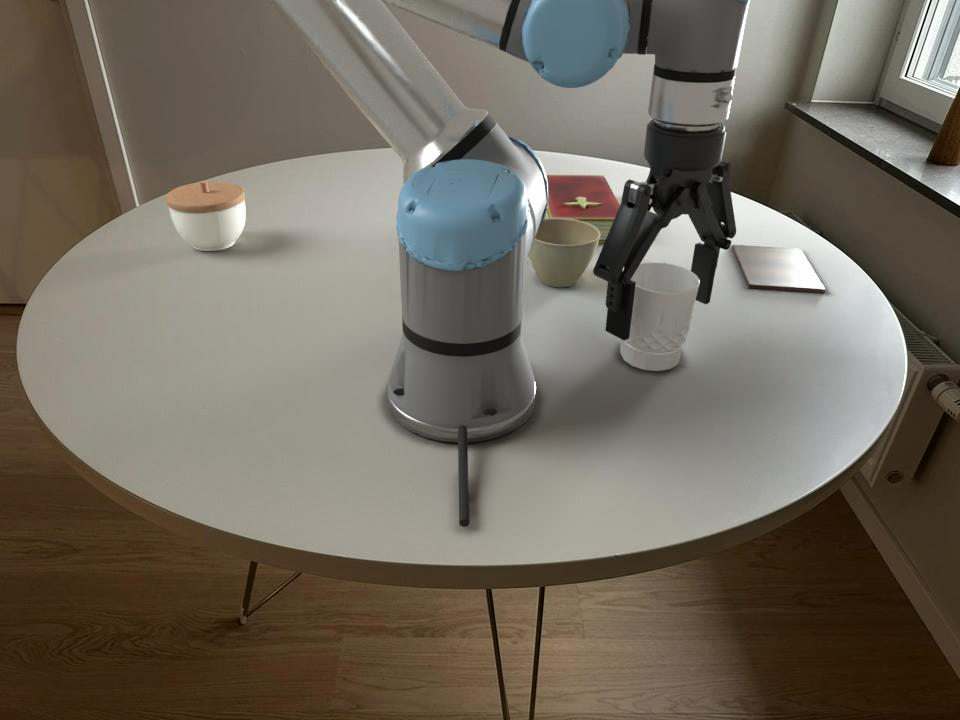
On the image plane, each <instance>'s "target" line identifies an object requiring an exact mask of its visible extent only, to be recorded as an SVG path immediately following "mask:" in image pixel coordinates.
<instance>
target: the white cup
mask: <svg viewBox="0 0 960 720" xmlns="http://www.w3.org/2000/svg"><path fill="white" fill-rule="evenodd" d="M631 280H632V281H634V282H636V286H635V294H634V302H633V310H632V318H631V327H630V335H629V339H627V340H625V341H624V340H622V339H620V348H619V349H620V350H619V353H620V355H621V358H622V360H623V361H624V362H625V363H627V364H629V365H630V366H632V367H634V368H636V369H640V370H643V371H651V372H663V371H667V370H672V369H673V368H674V367H677V366H678V365H679V363H680V360H681V356H682V351H683V347H684V344H685V342H686V340H687V335H688V332H689V330H690V325H691V321H692V316H693V312H694V308H695V304H696V296H697V292H698V288H699V284H700V280H699V278H698V277H697V275H696V274H694V273H693V272H692V271H691V269H690V270H689V268H686V267H684V266H680V265H677V264H673V263H667V262H653V261H652V262H641V263H640V265H639V267H638V268H637V270H636V271H635V273H634V275H633V276H632V278H631Z"/></svg>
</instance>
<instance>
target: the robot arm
mask: <svg viewBox="0 0 960 720" xmlns="http://www.w3.org/2000/svg"><path fill="white" fill-rule="evenodd" d="M267 1H268V2H269V3H270V4H271V6H272V7H273V8H274V9H275V11H276V12H277V13H278V14H279V16H281V18H282V19H283V20H284V21H285V23H286V24H287V25H288V26H289V27H290V29H291V30H292V31H293V32H294V33H295V35H297V37H298V38H299V39H300V40H301V41H302V43H303V44H304V45H305V46H306V48H307V49H308V50H309V51H310V52H311V53H312V55H313V56H314V57H315V59H316V60H317V61H318V62H319V63H320V64H321V65H322V66H323V68H324V69H325V70H326V71H327V72H328V73H329V75H330V76H331V77H332V79H333V80H334V81H335V82H336V83H337V85H339V87H340V88H341V89H342V90H343V91H344V93H345V94H346V95H347V96H348V98H350V100H351V101H352V103H353V104H354V105H355V106H356V107H357V108H358V109H359V110H360V112H361V113H362V114H363V115H364V117H365V118H366V119H367V120H368V121H369V123H370V124H371V125H372V126H373V127H374V128H375V129H376V131H377V132H378V133H379V134H380V136H381V137H382V138H383V139H384V140H385V142H386V143H387V145H389V146H390V147H391V149H392V150H393V151H394V152H395V153H396V155H397V156H398V157H399V158H400V159H401V161H402V164H403V172H402V186H401V189H400V191H399V195H398V200H397V204H398V205H397V212H396V217H395V218H396V225H395V228H396V229H395V230H396V232H397V233H396V234H397V236H398V254H399V255H398V257H399V277H400V299H401V324H402V325H401V327H402V336H401V338H400V341H399V345H398V348H397V351H396V354H395V356H394V360H393V363H392V366H391V369H390V371H389V372H390V373H389V375H388V379H387V383H386V397H387V406H388V410H389V412H390V414H391V416H392V417H393V418H394V420H395V421H396V422H398V424H400V425H401V426H402V427H403V428H405V429H407V430H408V431H409V432H412V433H413V434H416V435H418V436H420V437H424V438H427V439H431V440H434V441H439V442H447V443H457V459H458V470H457V471H458V524H459V526H460V527H462V528H467V527H468V526H470V521H471V519H470V493H469V492H470V488H469V453H468V452H469V451H468V448H469V447H468V443H477V442H483V441H489V440H493V439H497V438H499V437H503V436H506V435H507V434H509V433H511V432H513V431H515V430H516V429H518V428H520V427H521V426H523V425H524V423H525V422H527V421H528V420H529V418H530V417H531V415H533V411H534V409H535V406H536V393H537V392H536V391H537V386H536V381H535V377H534V373H533V370H532V366H531V364H530V361H529V357H528V354H527V351H526V347H525V344H524V341H523V338H522V320H523V319H522V318H523V303H524V301H523V300H524V282H525V281H524V280H525V271H526V265H527V260H528V258H529V252H530V249H531V247H532V244H533V242H534V239H535V236H536V233H537V231H538V229H539V227H540V226H541V224H542V222H543V220H544V217H545V214H546V211H547V204H548V181H547V176H546V175H547V173H546V170H545V167H544V165H543V162H542V161H541V159H540V157H539V156H538V154H536V152H535V151H534V150H533V149H532V148H531V147H530V146H529V145H528V144H526V143H525V142H524V141H522V140H520V139H518V138H516V137H515V136H511V135H507V134H506V132H505V131H504V130H503V128H501V126H500V125H499V124H498V122H497V121H496V120H495V118H494V117H493V116H492V115H491V113H490V112H489V111H488V110H487V109H482V108H474V107H473V108H472V107H468V106H466V105H464V103H463V102H462V101H461V99H460V98H459V97H458V95H457V94H456V93H455V91H454V90H453V89H452V88H451V86H450V85H449V84H448V83H447V81H446V80H445V79H444V77H443V76H442V75H441V74H440V72H439V71H438V70H437V69H436V67H434V66H433V63H432V62H431V61H430V60H429V59H428V58H427V56H426V55H425V53H424V52H423V51H422V50H421V49H420V47H419V46H418V45H417V43H416V42H415V40H414V39H413V38H412V37H411V36H410V35H409V34H408V32H407V30H405V28H404V27H403V26H402V25H401V23H400V22H399V21H398V19H397V18H396V17H395V16H394V14H393V13H392V12H391V11H390V9H389V8H388V7H387V6H386V4H388V5H391V6H393V7H395V8H398V9H400V10H402V11H405V12H407V13H409V14H412V15H415V16H417V17H419V18H421V19H424V20H427V21H428V22H429V21H430V22H432V23H434V24H436V25H439V26H442V27H444V28H446V29H449V30H451V31H454V32H456V33H459V34H461V35H463V36H465V37H468V38H471V39H473V40H475V41H478V42H480V43H482V44H485V45H488V46H490V47H493V48H495V49H497V50H499V51H501V52H505V53H506V54H509V55H510V56H512V57H515V58H517V59H519V60H522V61H524V62H527V63H529V64H530V66H531V67H532V69H533V71H534V72H535V73H536V74H537V75H538V76H539V77H541V78H542V79H543V80H544V81H545V82H547V83H550V84H551V85H553V86H555V87H560V88H565V89H578V88H583V87H586V86H589V85H591V84H594V83H595V82H597V81H599V80H601V79H602V78H603V77H605V75H606V74H608V72H610V71H611V70H612V69H613V68H614V67H615V65H616V63H617V61H618V60H619V59H621V58H622V57H623V55H625V54H626V55H641V56H644V55H654V64H653V72H652V78H651V79H652V80H651V85H650V93H649V100H648V101H649V102H648V110H647V114H648V116H649V118H651V120H650V121H649V122H648V123H647V125H646V130H645V131H646V132H645V140H644V147H643V148H644V150H643V158H644V159H645V161H646V162H647V163H648V166H649V173H648V176H647V178H646V180H645V181H642V182H641V181H640V182H639V181H636V180H632V179H628V180H626V181H625V182H624V185H623V190H622V195H621V201H620V203H619V205H620V207H619V209H618V212H617V214H616V217H615V219H614V221H613V224H612V226H611V229H610V231H609V233H608V236H607V238H606V241H605V243H603V245H602V248H601V250H600V253H599V255H598V257H597V260H596V263H595V265H594V268H593V270H592V274H593V276H595V277H597V278H599V279H601V280H603V281H606V282H607V287H606V297H605V306H606V309H607V310H606V322H605V330H604V331H605V332H607V333H609V334H610V335H612V336H615V337H616V338H618V339H620V340H621V339H622V340H624V341H625V340H627V339H629V335H630V327H631V318H632V310H633V302H634V294H635V286H636V282H634V281H632V280H631V278H632V276H633V275H634V273H635V271H636V270H637V268H638V267H639V265H640V264H641V263H643V262H642V261H643V260H644V258H645V257H646V255H647V253H648V252H649V250H650V249H651V247H652V245H653V243H654V242H655V241H656V238H657V237H658V235H659V233H660V232H661V230H663V229H664V228H665V229H666V228H667V227H668V226H669V225H670V223H671V221H672V220H674V219H677V218H679V217H680V216H683V215H688V217H689V219H690V221H691V224H692V225H693V227H694V229H695V231H696V233H697V235H698V237H699V239H700V241H701V242H697V243H695V244H694V249H693V255H692V261H691V267H690V271H692V272H693V273H694V274H696V275H697V277H698V278H699V280H700V284H699V288H698V292H697V296H696V300H695V302H699V303H701V304H703V305H708V304H710V303H711V297H712V293H713V287H714V281H715V275H716V271H717V268H718V262H719V256H720V251H721V249H722V250H724V251H727V250H729V249H730V247H732V240H731V239H734V237H736V234H737V226H736V225H737V224H736V219H735V212H734V206H733V205H734V204H733V198H732V191H731V185H730V177H731V168H732V164H731V162H730V161H727V160H723V154H724V148H725V142H726V137H727V128H726V126H725V125H724V124H723V123H725V122H726V121H727V120H728V119H729V115H730V109H731V104H732V99H733V91H734V90H733V89H734V84H735V78H736V75H737V71H738V64H739V58H740V55H741V54H740V53H741V47H742V44H743V43H742V42H743V36H744V33H745V32H744V31H745V26H746V21H747V16H748V10H749V4H750V2H751V0H267ZM651 209H652V210H653V211H651ZM702 242H703V243H702Z"/></svg>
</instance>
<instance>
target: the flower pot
mask: <svg viewBox="0 0 960 720" xmlns="http://www.w3.org/2000/svg"><path fill="white" fill-rule="evenodd" d="M599 239H600V231H599V230H598V229H597V228H596V227H594V226H593V225H591V224H589V223H586V222H583V221H579V220H574V219H566V218H547V219H544V220H543V222H542V224H541V226H540V227H539V229H538V231H537V233H536V236H535V239H534V242H533V244H532V247H531V249H530V252H529V255H528V258H529V260H530V263H531V265H532V268H533V270H534V272H535V274H536V276H537V278H538V280H539V281H540V282H541V283H543V284H544V285H546V286H549V287H554V288H567V287H568V288H569V287H571V286H574V285H575V284H576V283H578V281H579V280H580V279H581V278H582V276H583V275H584V273H585V272H586V270H587V269H588V267H589V266H590V264H591V262H592V260H593V259H594V256H595V253H596V251H597V249H598V245H599V243H598V242H599Z"/></svg>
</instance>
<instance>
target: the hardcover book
mask: <svg viewBox="0 0 960 720" xmlns="http://www.w3.org/2000/svg"><path fill="white" fill-rule="evenodd" d="M546 176H547V181H548V204H547V211H546V214H545V217H544V219H547V218H566V219H574V220H579V221H583V222H586V223H589V224H591V225H593V226H594V227H596V228H597V229H598V230H599V231H600V239H599V242H598V244H604V243H605V241H606V238H607V236H608V233H609V231H610V229H611V226H612V224H613V221H614V219H615V217H616V214H617V212H618V209H619V207H620V203H619V201H618V199H617V198H616V195H615V194H614V192H613V190H612V188H611V186H610V184H609V182H608V181H607V179H606V177H605V175H602V174H599V175H598V174H546Z"/></svg>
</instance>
